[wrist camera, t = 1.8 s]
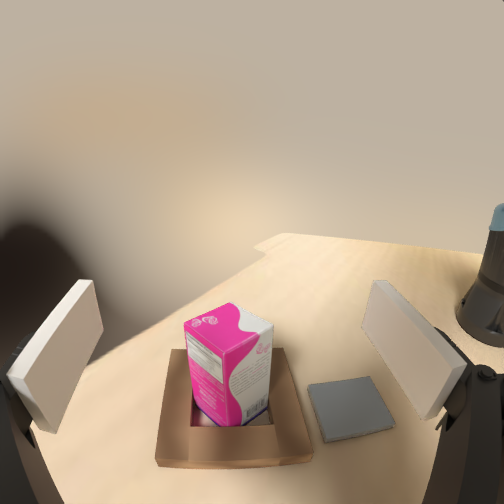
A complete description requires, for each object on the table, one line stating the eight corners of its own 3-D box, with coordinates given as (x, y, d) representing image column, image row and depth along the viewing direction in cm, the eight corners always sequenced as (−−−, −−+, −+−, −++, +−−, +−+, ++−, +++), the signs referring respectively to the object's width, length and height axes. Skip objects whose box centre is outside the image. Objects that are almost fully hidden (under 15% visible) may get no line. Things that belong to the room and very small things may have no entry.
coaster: (367, 380, 33) (369, 376, 32) (392, 427, 25) (395, 423, 25) (307, 389, 32) (308, 384, 32) (324, 442, 24) (326, 438, 24)
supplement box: (231, 381, 33) (232, 298, 29) (268, 408, 29) (278, 325, 25) (192, 404, 29) (181, 320, 25) (228, 437, 25) (226, 354, 21)
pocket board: (281, 358, 37) (282, 347, 36) (309, 461, 22) (313, 453, 22) (173, 359, 36) (171, 349, 35) (158, 466, 21) (154, 457, 20)
